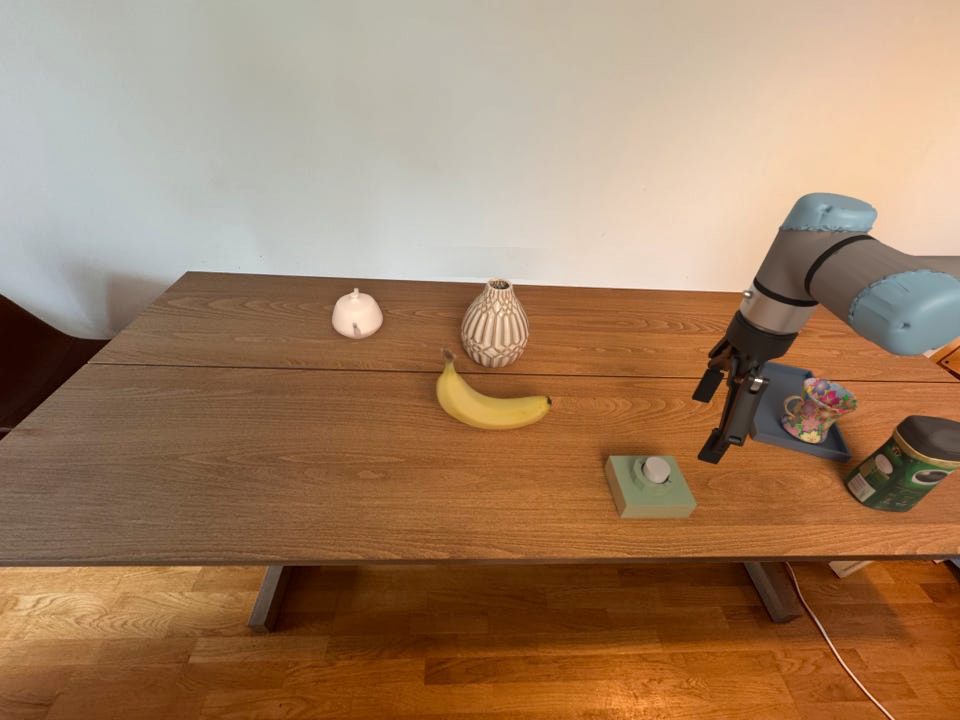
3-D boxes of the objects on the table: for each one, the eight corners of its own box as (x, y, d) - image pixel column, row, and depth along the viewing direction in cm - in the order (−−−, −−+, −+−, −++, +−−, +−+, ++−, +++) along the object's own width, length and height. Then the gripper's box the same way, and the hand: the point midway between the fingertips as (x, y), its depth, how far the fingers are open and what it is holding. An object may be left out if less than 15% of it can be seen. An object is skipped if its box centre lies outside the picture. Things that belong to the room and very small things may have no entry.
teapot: (385, 351, 101) (381, 316, 95) (331, 356, 99) (324, 320, 92) (382, 306, 116) (379, 273, 110) (335, 309, 114) (329, 276, 107)
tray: (846, 463, 83) (852, 456, 81) (752, 439, 86) (757, 433, 85) (807, 376, 103) (811, 370, 102) (732, 360, 106) (735, 354, 105)
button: (647, 483, 70) (650, 476, 68) (638, 463, 73) (642, 456, 72) (670, 483, 70) (674, 476, 69) (661, 463, 73) (665, 456, 72)
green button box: (620, 518, 71) (630, 498, 67) (603, 468, 78) (612, 448, 75) (688, 517, 72) (702, 498, 68) (665, 468, 79) (677, 448, 75)
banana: (543, 412, 89) (561, 336, 76) (549, 433, 84) (569, 356, 71) (436, 415, 86) (435, 337, 73) (436, 437, 82) (435, 358, 69)
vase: (525, 340, 108) (536, 269, 95) (524, 381, 96) (537, 307, 83) (464, 333, 109) (467, 263, 96) (455, 374, 96) (457, 299, 83)
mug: (810, 414, 92) (839, 379, 85) (836, 448, 85) (870, 412, 78) (755, 411, 92) (780, 375, 85) (777, 445, 85) (806, 408, 78)
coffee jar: (886, 479, 80) (962, 412, 68) (915, 517, 74) (1004, 450, 62) (834, 473, 81) (901, 405, 69) (858, 510, 75) (937, 443, 63)
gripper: (725, 271, 65) (676, 374, 78) (753, 371, 46) (682, 483, 60) (779, 281, 63) (719, 384, 77) (829, 388, 44) (739, 499, 58)
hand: (703, 428), depth 68 cm, fingers open, 13 cm apart
